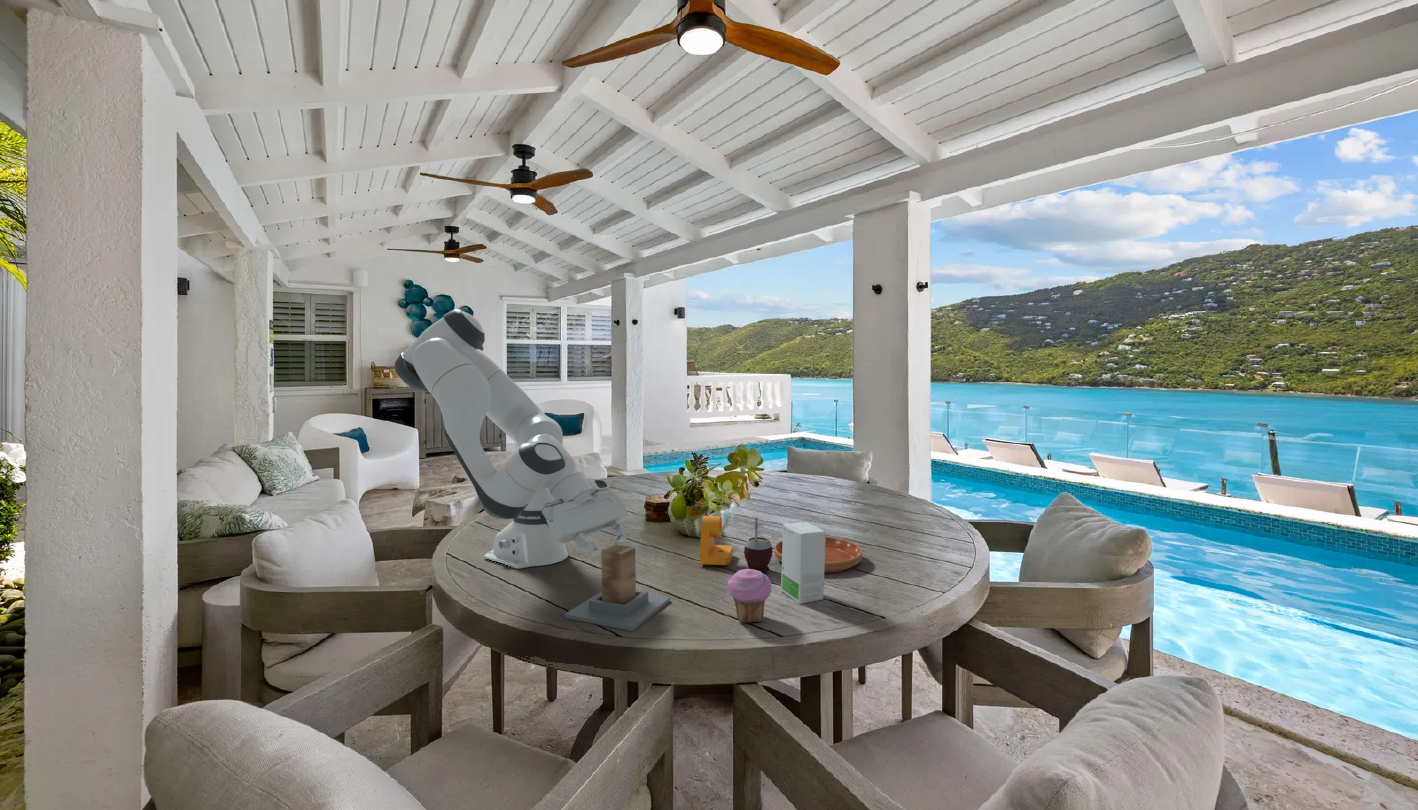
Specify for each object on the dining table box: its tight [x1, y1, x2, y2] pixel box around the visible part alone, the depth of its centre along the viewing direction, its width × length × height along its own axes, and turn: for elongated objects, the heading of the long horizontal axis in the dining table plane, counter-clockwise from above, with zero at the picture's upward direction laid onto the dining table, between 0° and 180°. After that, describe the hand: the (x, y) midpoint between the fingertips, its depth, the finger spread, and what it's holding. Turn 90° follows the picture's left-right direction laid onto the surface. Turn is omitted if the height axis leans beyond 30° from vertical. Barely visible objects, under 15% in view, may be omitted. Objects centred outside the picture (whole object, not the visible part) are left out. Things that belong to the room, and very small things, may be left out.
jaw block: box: [601, 544, 637, 605], centre depth 120 cm, size 5×5×12 cm
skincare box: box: [780, 521, 827, 605], centre depth 127 cm, size 8×7×16 cm
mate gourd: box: [743, 517, 774, 576], centre depth 143 cm, size 8×8×15 cm
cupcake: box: [727, 568, 772, 623], centre depth 115 cm, size 9×9×10 cm
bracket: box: [699, 515, 733, 566], centre depth 152 cm, size 11×7×12 cm, turn 170°
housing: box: [564, 589, 671, 632], centre depth 121 cm, size 16×16×3 cm
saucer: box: [773, 536, 863, 574], centre depth 152 cm, size 23×23×4 cm
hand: (609, 545), depth 123 cm, fingers open, 8 cm apart
